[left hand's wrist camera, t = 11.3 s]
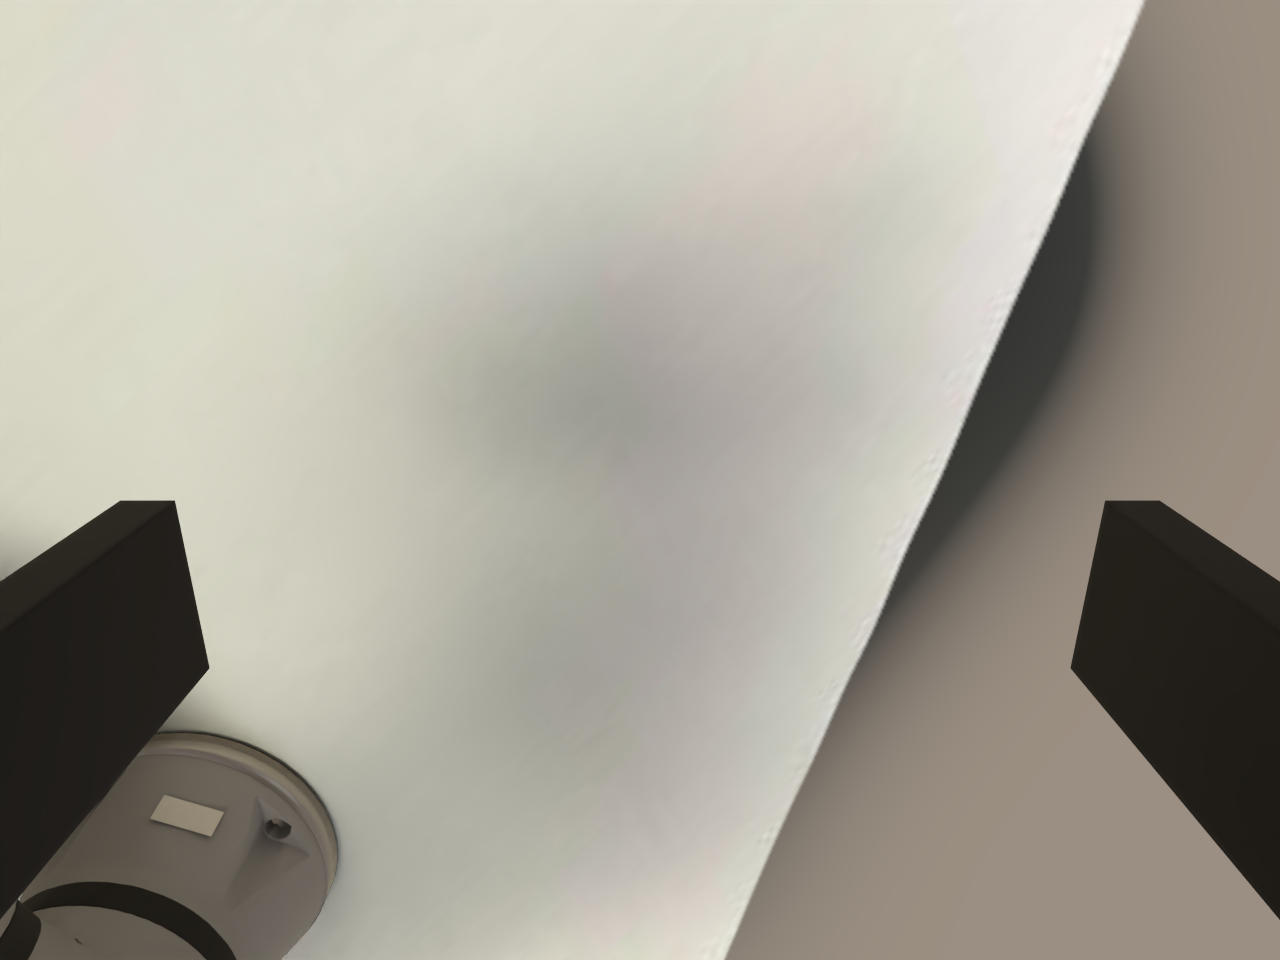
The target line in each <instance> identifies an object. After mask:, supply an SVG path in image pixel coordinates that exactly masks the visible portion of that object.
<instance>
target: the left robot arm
mask: <svg viewBox="0 0 1280 960" xmlns="http://www.w3.org/2000/svg"><path fill="white" fill-rule="evenodd" d="M208 669H209V664H208V659H207V654H206V649H205V644H204V640H203V635H202V630H201V625H200V620H199V615H198V611H197V606H196V601H195V596H194V591H193V586H192V582H191V577H190V572H189V567H188V562H187V557H186V553H185V548H184V543H183V538H182V533H181V528H180V524H179V519H178V514H177V509H176V504H175V501H119V502H118V503H116V504H115V505H113V506H112V507H110V508H109V509H107V510H106V511H104V512H103V513H101V514H100V515H98V516H97V517H96V518H94V519H93V520H91V521H90V522H88V523H87V524H85V525H84V526H82V527H81V528H79V529H78V530H76V531H75V532H73V533H72V534H70V535H69V536H67V537H66V538H64V539H63V540H61V541H60V542H58V543H57V544H55V545H54V546H52V547H51V548H50V549H48V550H47V551H45V552H44V553H42V554H41V555H39V556H38V557H36V558H35V559H33V560H32V561H30V562H29V563H27V564H26V565H24V566H23V567H21V568H20V569H18V570H17V571H15V572H14V573H12V574H11V575H9V576H8V577H6V578H5V579H4V580H2V581H1V582H0V960H281V959H282V958H283V957H284V956H285V955H286V954H287V953H288V952H289V950H290V949H291V948H292V947H293V946H294V945H295V944H296V943H297V942H298V941H299V939H300V938H301V937H302V936H303V935H304V934H305V933H306V931H307V930H308V929H309V928H310V927H311V926H312V924H313V923H314V922H315V920H316V918H317V917H318V915H319V913H320V911H321V909H322V906H323V904H324V902H325V899H326V897H327V895H328V892H329V890H330V887H331V885H332V882H333V880H334V876H335V872H336V867H337V844H336V838H335V834H334V831H333V828H332V825H331V822H330V820H329V818H328V816H327V814H326V812H325V810H324V808H323V807H322V805H321V804H320V802H319V801H318V799H317V798H316V797H315V795H314V794H313V793H312V792H311V790H310V789H309V788H308V787H307V786H306V785H305V784H304V783H303V782H302V781H301V780H300V779H299V778H298V777H296V776H295V775H294V774H293V773H292V772H291V771H289V770H288V769H287V768H285V767H284V766H283V765H281V764H280V763H278V762H276V761H275V760H273V759H272V758H270V757H268V756H266V755H264V754H263V753H261V752H259V751H257V750H254V749H252V748H250V747H247V746H245V745H242V744H239V743H236V742H233V741H230V740H227V739H223V738H219V737H215V736H209V735H203V734H193V733H164V734H156V735H154V734H155V733H156V732H157V731H158V729H159V728H160V727H161V726H162V725H163V723H164V722H165V721H166V720H167V719H168V717H169V716H170V715H171V714H172V713H173V711H174V710H175V709H176V708H177V707H178V705H179V704H180V703H181V702H182V701H183V699H184V698H185V697H186V696H187V695H188V693H189V692H190V691H191V690H192V689H193V687H194V686H195V685H196V684H197V683H198V681H199V680H200V679H201V678H202V676H203V675H204V674H205V673H206V672H207V670H208ZM1071 669H1072V670H1073V672H1074V673H1075V674H1076V675H1077V676H1078V678H1079V679H1080V680H1081V681H1082V682H1083V684H1084V685H1085V686H1086V687H1087V689H1088V690H1089V691H1090V692H1091V693H1092V695H1093V696H1094V697H1095V698H1096V699H1097V701H1098V702H1099V703H1100V704H1101V705H1102V707H1103V708H1104V709H1105V710H1106V711H1107V713H1108V714H1109V715H1110V716H1111V717H1112V719H1113V720H1114V721H1115V722H1116V723H1117V725H1118V726H1119V727H1120V728H1121V729H1122V731H1123V732H1124V733H1125V734H1126V735H1127V737H1128V738H1129V739H1130V740H1131V741H1132V743H1133V744H1134V745H1135V746H1136V747H1137V749H1138V750H1139V751H1140V752H1141V753H1142V755H1143V756H1144V757H1145V758H1146V759H1147V761H1148V762H1149V763H1150V764H1151V765H1152V767H1153V768H1154V769H1155V770H1156V771H1157V773H1158V774H1159V775H1160V776H1161V777H1162V779H1163V780H1164V781H1165V782H1166V783H1167V785H1168V786H1169V787H1170V788H1171V790H1172V791H1173V792H1174V793H1175V794H1176V796H1177V797H1178V798H1179V799H1180V800H1181V802H1182V803H1183V804H1184V805H1185V806H1186V808H1187V809H1188V810H1189V811H1190V812H1191V814H1192V815H1193V816H1194V817H1195V818H1196V820H1197V821H1198V822H1199V823H1200V824H1201V826H1202V827H1203V828H1204V829H1205V830H1206V832H1207V833H1208V834H1209V835H1210V836H1211V838H1212V839H1213V840H1214V841H1215V842H1216V844H1217V845H1218V846H1219V847H1220V848H1221V850H1222V851H1223V852H1224V853H1225V854H1226V856H1227V857H1228V858H1229V859H1230V860H1231V862H1232V863H1233V864H1234V865H1235V866H1236V868H1237V869H1238V870H1239V871H1240V872H1241V874H1242V875H1243V876H1244V877H1245V878H1246V880H1247V881H1248V882H1249V883H1250V884H1251V886H1252V887H1253V888H1254V889H1255V891H1256V892H1257V893H1258V894H1259V895H1260V897H1261V898H1262V899H1263V900H1264V901H1265V903H1266V904H1267V905H1268V906H1269V907H1270V909H1271V910H1272V911H1273V912H1274V913H1275V915H1276V916H1277V917H1278V918H1279V919H1280V582H1279V581H1278V580H1276V579H1275V578H1273V577H1272V576H1271V575H1269V574H1268V573H1266V572H1265V571H1263V570H1262V569H1260V568H1259V567H1257V566H1256V565H1254V564H1253V563H1251V562H1250V561H1248V560H1247V559H1245V558H1244V557H1242V556H1241V555H1239V554H1238V553H1236V552H1235V551H1233V550H1232V549H1230V548H1229V547H1228V546H1226V545H1225V544H1223V543H1222V542H1220V541H1219V540H1217V539H1216V538H1214V537H1213V536H1211V535H1210V534H1208V533H1207V532H1205V531H1204V530H1202V529H1201V528H1199V527H1198V526H1196V525H1195V524H1193V523H1192V522H1190V521H1189V520H1187V519H1186V518H1184V517H1183V516H1182V515H1180V514H1178V513H1177V512H1176V511H1174V510H1173V509H1171V508H1170V507H1168V506H1167V505H1165V504H1164V503H1162V502H1161V501H1105V504H1104V509H1103V514H1102V519H1101V524H1100V528H1099V533H1098V538H1097V543H1096V548H1095V553H1094V557H1093V562H1092V567H1091V572H1090V577H1089V582H1088V586H1087V591H1086V596H1085V601H1084V606H1083V611H1082V615H1081V620H1080V625H1079V630H1078V635H1077V639H1076V645H1075V649H1074V654H1073V659H1072V664H1071ZM21 894H22V896H21V899H20V901H19V900H17V899H18V898H19V897H20V895H21Z"/></svg>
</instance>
